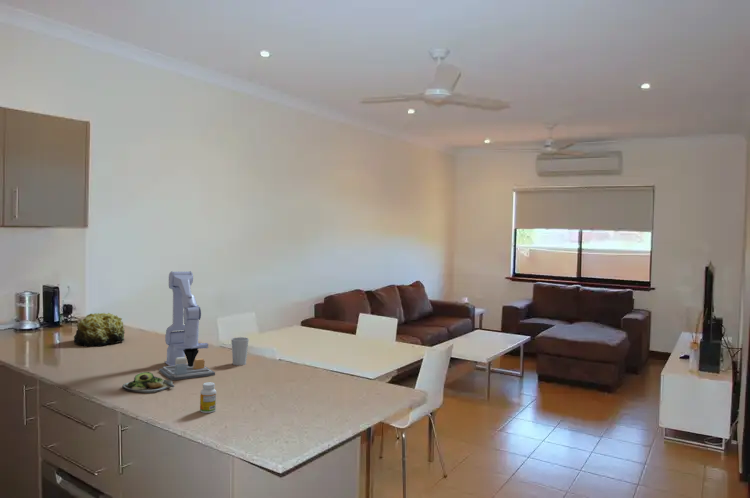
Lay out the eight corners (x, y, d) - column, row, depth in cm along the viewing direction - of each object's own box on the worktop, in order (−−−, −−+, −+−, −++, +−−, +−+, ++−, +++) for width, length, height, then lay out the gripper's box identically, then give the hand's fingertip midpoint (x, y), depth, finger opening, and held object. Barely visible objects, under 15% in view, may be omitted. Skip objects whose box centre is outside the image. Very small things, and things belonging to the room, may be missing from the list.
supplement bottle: (201, 408, 200) (202, 381, 200) (217, 408, 200) (218, 381, 200) (198, 413, 194) (199, 385, 194) (214, 413, 195) (215, 385, 195)
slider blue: (174, 374, 238) (175, 364, 237) (184, 373, 240) (184, 363, 240) (176, 376, 235) (177, 365, 235) (186, 375, 238) (186, 364, 237)
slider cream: (175, 367, 250) (175, 357, 249) (184, 366, 252) (184, 356, 252) (177, 369, 247) (177, 358, 247) (186, 368, 250) (186, 358, 249)
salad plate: (186, 385, 229) (186, 374, 228) (157, 397, 212) (157, 385, 211) (147, 379, 234) (147, 368, 234) (115, 390, 217) (116, 379, 217)
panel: (159, 371, 247) (159, 366, 247) (201, 366, 258) (201, 362, 258) (171, 380, 233) (171, 376, 233) (215, 375, 244) (215, 370, 244)
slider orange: (193, 369, 248) (193, 358, 248) (201, 368, 251) (202, 358, 251) (195, 370, 246) (195, 360, 246) (204, 369, 248) (204, 359, 248)
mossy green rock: (109, 336, 318) (110, 308, 318) (133, 342, 304) (134, 314, 304) (64, 342, 298) (65, 313, 298) (87, 349, 284) (88, 318, 284)
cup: (243, 366, 262) (244, 341, 262) (227, 364, 264) (228, 339, 263) (250, 362, 270) (251, 338, 270) (235, 361, 271) (236, 336, 271)
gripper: (177, 337, 232) (176, 370, 232) (211, 335, 241) (210, 366, 241) (172, 334, 238) (171, 366, 238) (205, 332, 246) (204, 362, 247)
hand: (190, 366), depth 240 cm, fingers closed
